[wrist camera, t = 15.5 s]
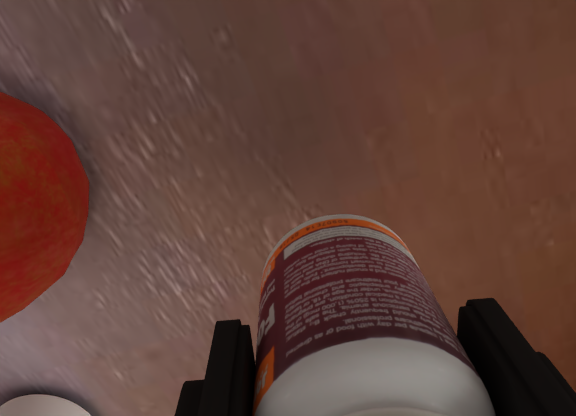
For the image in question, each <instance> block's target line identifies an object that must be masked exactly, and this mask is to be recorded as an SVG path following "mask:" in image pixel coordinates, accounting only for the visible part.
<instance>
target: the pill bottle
mask: <svg viewBox="0 0 576 416" xmlns="http://www.w3.org/2000/svg"><path fill="white" fill-rule="evenodd" d="M252 416H496V414H495V410H494V407H493V405H492V402H491V399H490V397H489V394H488V392H487V390H486V388H485V386H484V384H483V382H482V380H481V378H480V376H479V374H478V373H477V371H476V370H475V367H474V366H473V364H472V362H471V361H470V359H469V357H468V356H467V354H466V352H465V350H464V348H463V347H462V345H461V343H460V341H459V340H458V338H457V336H456V334H455V332H454V331H453V329H452V327H451V325H450V324H449V322H448V320H447V318H446V316H445V315H444V313H443V311H442V309H441V307H440V305H439V303H438V302H437V300H436V298H435V296H434V294H433V292H432V290H431V289H430V287H429V285H428V283H427V282H426V280H425V277H424V276H423V274H422V272H421V270H420V269H419V267H418V265H417V263H416V262H415V260H414V257H413V256H412V255H411V253H410V251H409V250H408V248H407V246H406V245H405V244H404V242H403V241H402V240H401V238H400V237H399V236H398V235H396V234H395V233H394V232H393V231H392V230H390V229H389V228H388V227H386V226H384V225H383V224H381V223H379V222H377V221H375V220H372V219H369V218H367V217H363V216H357V215H351V214H337V215H328V216H322V217H318V218H315V219H311V220H308V221H306V222H304V223H302V224H300V225H299V226H297V227H295V228H293V229H292V230H291V231H289V232H288V233H287V234H286V235H284V236H283V237H282V238H281V240H280V241H279V242H278V243H277V245H276V246H275V247H274V249H273V250H272V251H271V253H270V254H269V256H268V259H267V261H266V263H265V266H264V269H263V274H262V281H261V297H260V306H259V321H258V334H257V349H256V362H255V378H254V394H253V407H252Z"/></svg>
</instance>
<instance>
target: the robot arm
mask: <svg viewBox="0 0 576 416" xmlns="http://www.w3.org/2000/svg"><path fill="white" fill-rule="evenodd" d="M457 338H458V340H459V341H460V343H461V345H462V347H463V348H464V350H465V352H466V354H467V356H468V357H469V359H470V361H471V362H472V364H473V366H474V367H475V370H476V371H477V373H478V374H479V376H480V378H481V380H482V382H483V384H484V386H485V388H486V390H487V392H488V394H489V397H490V399H491V402H492V405H493V407H494V410H495V414H496V416H576V393H575V392H574V390H573V389H572V388H571V387H570V385H569V384H568V383H567V381H566V380H565V379H564V378H563V376H562V375H561V374H560V373H559V371H558V370H557V369H556V368H555V366H554V365H553V364H552V362H551V361H550V360H549V359H548V358H547V357H546V356H545V355H544V354H543V353H541V352H535V351H534V350H533V348H532V347H531V346H530V344H529V343H528V342H527V340H526V339H525V338H524V336H523V335H522V334H521V333H520V331H519V330H518V329H517V327H516V326H515V325H514V323H513V322H512V321H511V319H510V318H509V317H508V316H507V314H506V313H505V312H504V310H503V309H502V308H501V306H500V305H499V304H498V303H497V301H496V300H495V299H494V298H484V299H473V300H468V301H467V303H466V306H464V307H460V308H459V314H458V330H457ZM254 378H255V360H254V353H253V346H252V339H251V332H250V326H249V325H241V321H240V319H237V320H226V321H217V322H216V325H215V330H214V335H213V340H212V345H211V350H210V355H209V360H208V365H207V370H206V375H205V380H194V381H185V383H184V384H183V387H182V390H181V393H180V397H179V401H178V405H177V409H176V413H175V416H252V407H253V394H254Z"/></svg>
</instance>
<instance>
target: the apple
mask: <svg viewBox="0 0 576 416" xmlns="http://www.w3.org/2000/svg"><path fill="white" fill-rule="evenodd" d="M88 205H89V180H88V178H87V176H86V173H85V171H84V168H83V166H82V164H81V161H80V159H79V157H78V155H77V152H76V150H75V148H74V146H73V143H72V141H71V140H70V138H69V137H68V136H67V135H66V134H65V133H64V131H63V130H62V129H61V128H60V127H59V126H58V125H57V124H56V123H55V122H54V121H53V120H52V119H51V118H50V117H48V116H47V115H46V114H45V113H44V112H43V111H41V110H39V109H38V108H36V107H34V106H32V105H30V104H28V103H25V102H23V101H21V100H19V99H16V98H14V97H12V96H10V95H7V94H5V93H3V92H0V322H2V321H4V320H5V319H7V318H9V317H11V316H12V315H14V314H16V313H17V312H19V311H21V310H23V309H24V308H25V307H26V306H28V305H29V304H30V303H31V302H32V301H34V300H35V299H36V298H37V297H38V296H40V295H41V294H42V293H43V292H44V291H46V290H47V289H48V288H49V287H50V286H51V285H52V284H54V283H55V282H56V281H57V280H58V279H59V278H61V277H62V276H63V275H64V274H65V272H66V270H67V268H68V266H69V264H70V262H71V260H72V258H73V256H74V255H75V253H76V251H77V250H78V248H79V246H80V245H81V243H82V241H83V236H84V231H85V226H86V222H87V217H88Z"/></svg>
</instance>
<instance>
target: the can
mask: <svg viewBox="0 0 576 416" xmlns="http://www.w3.org/2000/svg"><path fill="white" fill-rule="evenodd" d="M0 416H91V415H90V414H89V413H88V412H87V411H86V410H84V409H83V408H82V407H80V406H79V405H77V404H75V403H73V402H71V401H69V400H67V399H64V398H61V397H57V396H51V395H42V394H34V395H25V396H20V397H17V398H14V399H12V400H9V401H8V402H6V403H4V404H3V405H1V406H0Z"/></svg>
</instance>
